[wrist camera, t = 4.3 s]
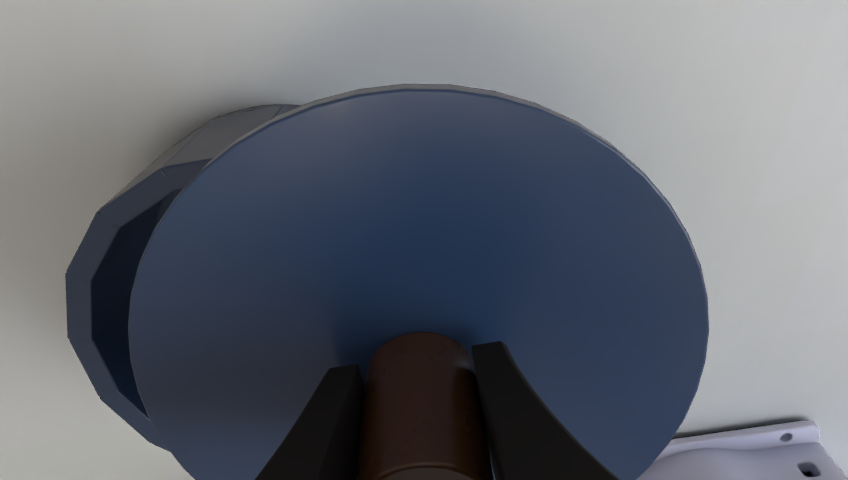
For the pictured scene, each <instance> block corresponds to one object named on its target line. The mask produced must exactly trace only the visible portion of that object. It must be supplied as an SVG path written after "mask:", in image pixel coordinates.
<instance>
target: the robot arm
mask: <svg viewBox="0 0 848 480" xmlns="http://www.w3.org/2000/svg"><path fill="white" fill-rule="evenodd" d="M471 347H472V354H473V361H474V367H475V373H476V379H477V384H478V390H479V396H480V401H481V407H482V412H483V417H484V421H485V427H486V433H487V440H488V446H489V452H490V458H491V464H492V468H493V472H494V476H495V480H620V479H618V478H617V477H616V476H615V475H614V474H613V473H612V472H610V471H609V470H608V469H607V468H606V467H605V466H604V465H602V464H601V463H600V462H599V461H598V460H597V459H596V458H595V457H594V456H593V455H592V454H591V453H590V452H589V451H588V450H586V449H585V448H584V447H583V446H582V445H581V444H580V443H579V441H578V440H577V439H576V438H575V437H574V436H573V435H572V434H571V433H570V432H569V431H568V430H567V429H566V428H565V427H564V425H563V424H562V423H561V422H560V421H559V420H558V419H557V418H556V416H555V415H554V414H553V413H552V412H551V411H550V409H549V408H548V407H547V406H546V404H545V403H544V402H543V401H542V399H541V398H540V397H539V396H538V394H537V393H536V392H535V390H534V389H533V388H532V386H531V385H530V384H529V382H528V381H527V380H526V378H525V377H524V375H523V374H522V372H521V371H520V369H519V368H518V366H517V364H516V363H515V361H514V359H513V357H512V356H511V354H510V352H509V350H508V347H507V345H506V344H504V343H503V342H501V341H497V342H491V343H485V344H478V345H472V346H471ZM364 390H365V387H364V384H363V380H362V377H361V373H360V370H359V366H358V364H353V365H346V366H340V367H334V368H329V370H328V371H327V372H326V374H325V375H324V377H323V378H322V380H321V382H320V383H319V385H318V387H317V388H316V390H315V392H314V393H313V395H312V397H311V398H310V400H309V401H308V403H307V405H306V406H305V408H304V409H303V411H302V413H301V414H300V416H299V417H298V419H297V420H296V422H295V423H294V425H293V426H292V428H291V429H290V431H289V432H288V434H287V436H286V437H285V439H284V440H283V442H282V443H281V444H280V446H279V447H278V449H277V450H276V451H275V453H274V454H273V456H272V457H271V458H270V460H269V461H268V462H267V464H266V465H265V466H264V468H263V469H262V470H261V472H260V473H259V474H258V476H257V477H256V478H255V480H356V471H357V461H358V451H359V441H360V431H361V421H362V411H363V401H364ZM783 434H784V435H783ZM819 436H820V428H819V427H818V426H817V425H816V424H815V423H814V422H813V421H811V420H804V421H797V422H790V423H783V424H776V425H769V426H762V427H755V428H748V429H741V430H734V431H727V432H720V433H713V434H706V435H699V436H692V437H685V438H678V439H671V441H670V443H669V444H668V445H667V446H666V448H665V449H664V450H663V451H662V453H661V454H660V455H659V456H658V458H657V459H656V460H655V461H654V462H653V464H652V465H651V466H650V467H649V468H648V469H647V470H646V471H645V472H644V473H643V474H642V475H641V476H640V477H639V478H638V479H637V480H848V478H847V477H846V475H845V474H844V473H843V472H842V470H841V469H840V468H839V467H838V466H837V464H836V463H835V462H834V461H833V459H832V458H831V457H830V456H829V455H828V453H827V452H826V451H825V450H824V448H823V447H822V446H821V445H820V444H819V443H818V442H819Z"/></svg>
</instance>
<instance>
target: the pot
mask: <svg viewBox="0 0 848 480" xmlns="http://www.w3.org/2000/svg"><path fill="white" fill-rule="evenodd" d="M298 107H301V106H299V105H268V106H259V107H251V108H247V109H243V110H239V111H235V112H232V113H229V114H227V115H224V116H219V117H217V118H214V119H212V120H211V121H209V122H208V123H206V124H205V125H203V126H202V127H200V128H198V129H196V130H195V131H193V132H192V133H191V134H190V135H188V136H187V137H186V138H185V139H183V140H182V141H180V142H179V143H177V144H176V145H174V146H173V147H172V148H170V149H169V150H167V151H166V152H165V153H163V154H162V155H161V156H160V157H159V158H158V159H157V160H155V161H154V162H153V163H152V164H151V165H150V166H148V167H147V168H146V169H145V170H144V171H143V172H142V173H140V174H139V175H138V176H137V177H136V178H135V179H134V180H132V181H131V182H130V183H129V184H128V185H127V186H126V187H124V188H123V189H122V190H121V191H120V192H119V193H117V194H116V195H115V196H114V197H113V198H112V199H111V200H109V201H108V202H107V203H106V204H105V205H104V206H103V207H101V208H100V210H99V211H98V212H96V214H95V216H94V218H93V220H92V222H91V224H90V226H89V228H88V230H87V232H86V234H85V236H84V238H83V240H82V242H81V243H80V245H79V247H78V249H77V251H76V253H75V255H74V257H73V259H72V261H71V263H70V265H69V267H68V269H67V272H66V274H65V278H66V304H67V330H68V339H69V340H70V343H71V345H72V347H73V348H74V350H75V352H76V354H77V356H78V358H79V360H80V362H81V364H82V365H83V367H84V369H85V371H86V373H87V375H88V377H89V379H90V381H91V382H92V384H93V386H94V388H95V390H96V392H97V394H98V396H100V399H101V400H102V401H103V402H104V403H105V404H106V405H108V406H109V407H110V408H111V409H112V410H113V411H114V412H116V413H117V414H118V415H119V416H120V417H121V418H122V419H124V420H125V421H126V422H127V423H128V424H129V425H130V426H131V427H133V428H134V429H135V430H136V431H137V432H138V433H139V434H141V435H142V436H143V437H144V438H145V439H146V440H147V441H149V442H150V443H152V444H154V445H156V446H158V447H161V448H163V449H165V450H167V451H169V449H168V448H167V447H166V446H165V444H164V442H163V441H162V439H161V437H160V436H159V434H158V432H157V431H156V429H155V427H154V426H153V424H152V422H151V421H150V419H149V417H148V414H147V412H146V409H145V407H144V404H143V402H142V400H141V397H140V395H139V392H138V390H137V386H136V381H135V377H134V373H133V369H132V365H131V361H130V349H129V336H128V321H129V309H130V298H131V292H132V288H133V285H134V281H135V277H136V273H137V269H138V266H139V262H140V260H141V257H142V255H143V253H144V251H145V249H146V246H147V244H148V242H149V240H150V238H151V235H152V233H153V231H154V229H155V228H156V226H157V225H158V223H159V222H160V220H161V219H162V217H163V216H164V214H165V213H166V211H167V210H168V208H169V207H170V205H171V204H172V202H173V201H174V199H175V198H176V197H177V196H178V195H179V193H180V192H181V191H182V190H183V189H184V188H185V187H186V186H187V185H188V184H189V183H190V182H191V180H192V179H193V178H194V177H195V176H196V175H197V174H198V173H199V172H200V171H201V170H202V169H203V167H204V166H205V165H206V164H207V163H208V162H210V161H211V160H212V159H213V158H215V157H216V156H217V155H218V154H220V153H221V152H222V151H223V150H225V149H226V148H227V147H228V146H230V145H231V144H232V143H233V142H235V141H236V140H237V139H238V138H240V137H242V136H243V135H245V134H247V133H248V132H250V131H252V130H254V129H255V128H257V127H259V126H260V125H262V124H264V123H266V122H267V121H269V120H271V119H272V118H274V117H276V116H278V115H281V114H283V113H286V112H288V111H291V110H293V109H296V108H298Z"/></svg>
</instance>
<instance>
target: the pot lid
mask: <svg viewBox="0 0 848 480" xmlns="http://www.w3.org/2000/svg"><path fill="white" fill-rule="evenodd" d="M708 334H709V321H708V298H707V293H706V288H705V283H704V279H703V274H702V269H701V265H700V263H699V260H698V257H697V255H696V252H695V250H694V247H693V245H692V242H691V240H690V237H689V235H688V233H687V231H686V229H685V228H684V226H683V224H682V223H681V221H680V219H679V218H678V216H677V214H676V213H675V211H674V209H673V208H672V206H671V204H670V203H669V202H668V201H667V199H666V198H665V197H664V196H663V195H662V193H661V192H660V191H659V190H658V189H657V187H656V186H655V185H654V184H653V183H652V182H651V180H650V179H649V178H648V177H647V176H646V174H644V173H643V172H642V171H641V170H640V169H639V168H638V167H637V166H636V165H635V164H634V163H633V162H631V161H630V160H629V159H628V158H627V157H626V156H625V155H623V154H622V153H621V152H620V151H619V150H618V149H616V148H615V147H614V146H613V145H612V144H611V143H609V142H608V141H606V140H605V139H603V138H602V137H600V136H598V135H597V134H595V133H594V132H592V131H591V130H589V129H587V128H586V127H584V126H583V125H581V124H580V123H578V122H576V121H575V120H572V119H570V118H568V117H566V116H564V115H561V114H559V113H557V112H555V111H552V110H550V109H548V108H546V107H543V106H541V105H539V104H537V103H534V102H530V101H527V100H523V99H520V98H516V97H513V96H509V95H506V94H503V93H499V92H496V91H490V90H484V89H477V88H470V87H463V86H457V85H450V84H398V85H390V86H381V87H373V88H364V89H358V90H354V91H350V92H346V93H342V94H338V95H334V96H330V97H327V98H323V99H319V100H315V101H313V102H310V103H308V104H305V105H303V106H301V107H298V108H296V109H293V110H291V111H288V112H286V113H283V114H281V115H278V116H276V117H274V118H272V119H271V120H269V121H267V122H266V123H264V124H262V125H260V126H259V127H257V128H255V129H254V130H252V131H250V132H248V133H247V134H245V135H243V136H242V137H240V138H238V139H237V140H236V141H235V142H233V143H232V144H231V145H230V146H228V147H227V148H226V149H225V150H223V151H222V152H221V153H220V154H218V155H217V156H216V157H215V158H213V159H212V160H211V161H210V162H208V163H207V164H206V165H205V166H204V167H203V169H202V170H201V171H200V172H199V173H198V174H197V175H196V176H195V177H194V178H193V179H192V180H191V182H190V183H189V184H188V185H187V186H186V187H185V188H184V189H183V190H182V191H181V192H180V193H179V195H178V196H177V197H176V198H175V199H174V201H173V202H172V204H171V205H170V207H169V208H168V210H167V211H166V213H165V214H164V216H163V217H162V219H161V220H160V222H159V223H158V225H157V226H156V228H155V229H154V231H153V233H152V235H151V238H150V240H149V242H148V244H147V246H146V249H145V251H144V253H143V255H142V257H141V260H140V262H139V266H138V269H137V273H136V277H135V281H134V285H133V288H132V292H131V298H130V309H129V321H128V336H129V349H130V361H131V365H132V369H133V373H134V377H135V381H136V386H137V390H138V392H139V395H140V397H141V400H142V402H143V404H144V407H145V409H146V412H147V414H148V417H149V419H150V421H151V422H152V424H153V426H154V427H155V429H156V431H157V432H158V434H159V436H160V437H161V439H162V441H163V442H164V444H165V446H166V447H167V448H168V449H169V451H170V452H171V453H172V454H173V456H174V457H175V458H176V459H177V461H178V462H179V463H180V464H181V466H182V467H183V468H184V469H185V470H186V471H187V472H188V473H189V474H190V475H191V476H192V477H193V478H194V479H195V480H255V478H256V477H257V476H258V474H259V473H260V472H261V470H262V469H263V468H264V466H265V465H266V464H267V462H268V461H269V460H270V458H271V457H272V456H273V454H274V453H275V451H276V450H277V449H278V447H279V446H280V444H281V443H282V442H283V440H284V439H285V437H286V436H287V434H288V432H289V431H290V429H291V428H292V426H293V425H294V423H295V422H296V420H297V419H298V417H299V416H300V414H301V413H302V411H303V409H304V408H305V406H306V405H307V403H308V401H309V400H310V398H311V397H312V395H313V393H314V392H315V390H316V388H317V387H318V385H319V383H320V382H321V380H322V378H323V377H324V375H325V374H326V372H327V371H328V370H329V368H334V367H340V366H346V365H353V364H358V366H359V370H360V373H361V377H362V380H363V384H364V387H365V390H364V401H363V411H362V421H361V431H360V441H359V451H358V461H357V471H356V480H495V476H494V472H493V468H492V464H491V458H490V452H489V446H488V440H487V433H486V427H485V421H484V417H483V412H482V407H481V401H480V396H479V390H478V384H477V379H476V373H475V367H474V361H473V354H472V347H471V346H472V345H478V344H485V343H491V342H497V341H501V342H503V343H504V344H506V345H507V347H508V350H509V352H510V354H511V356H512V357H513V359H514V361H515V363H516V364H517V366H518V368H519V369H520V371H521V372H522V374H523V375H524V377H525V378H526V380H527V381H528V382H529V384H530V385H531V386H532V388H533V389H534V390H535V392H536V393H537V394H538V396H539V397H540V398H541V399H542V401H543V402H544V403H545V404H546V406H547V407H548V408H549V409H550V411H551V412H552V413H553V414H554V415H555V416H556V418H557V419H558V420H559V421H560V422H561V423H562V424H563V425H564V427H565V428H566V429H567V430H568V431H569V432H570V433H571V434H572V435H573V436H574V437H575V438H576V439H577V440H578V441H579V443H580V444H581V445H582V446H583V447H584V448H585V449H586V450H588V451H589V452H590V453H591V454H592V455H593V456H594V457H595V458H596V459H597V460H598V461H599V462H600V463H601V464H602V465H604V466H605V467H606V468H607V469H608V470H609V471H610V472H612V473H613V474H614V475H615V476H616V477H617V478H618V479H620V480H637V479H638V478H639V477H640V476H641V475H642V474H643V473H644V472H645V471H646V470H647V469H648V468H649V467H650V466H651V465H652V464H653V462H654V461H655V460H656V459H657V458H658V456H659V455H660V454H661V453H662V451H663V450H664V449H665V448H666V446H667V445H668V444H669V443H670V441H671V439H672V438H673V436H674V435H675V433H676V431H677V430H678V428H679V426H680V425H681V423H682V422H683V420H684V418H685V416H686V414H687V412H688V410H689V407H690V405H691V403H692V401H693V398H694V396H695V394H696V392H697V389H698V385H699V382H700V378H701V375H702V371H703V367H704V364H705V359H706V351H707V342H708Z"/></svg>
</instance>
